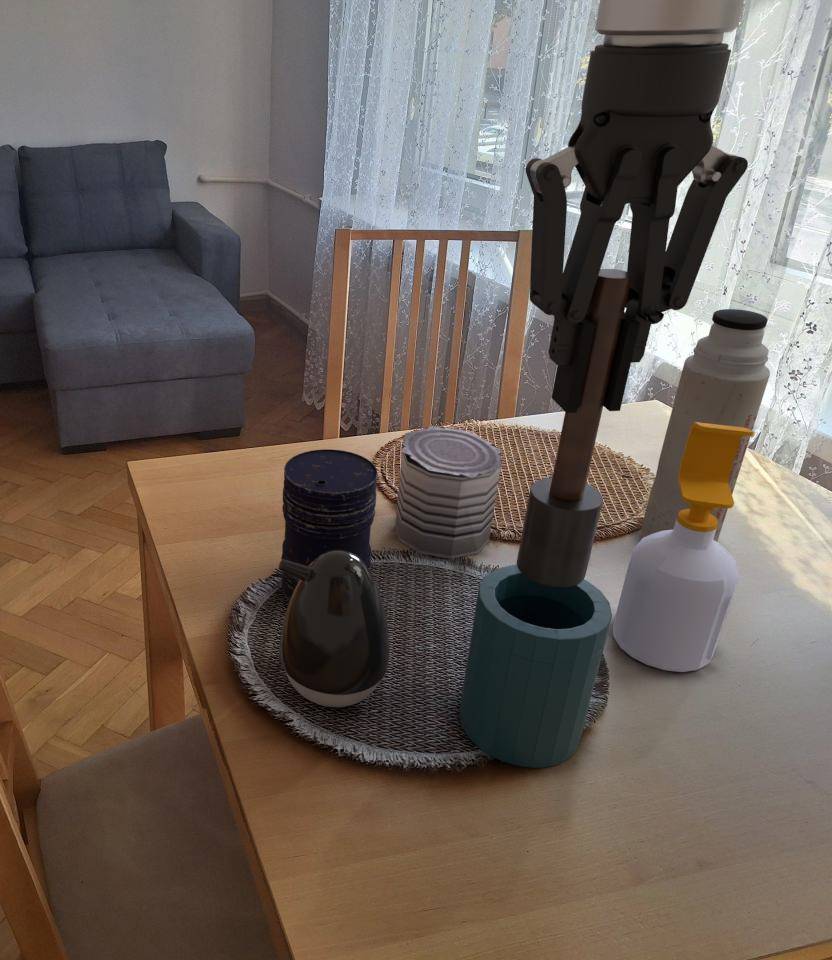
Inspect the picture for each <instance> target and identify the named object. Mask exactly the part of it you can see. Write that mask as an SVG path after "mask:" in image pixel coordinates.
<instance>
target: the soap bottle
mask: <svg viewBox="0 0 832 960" xmlns="http://www.w3.org/2000/svg"><path fill="white" fill-rule="evenodd" d="M742 436H751V437H750V438H752V437H754V436H755V431H753V430H752V431H751V430H750V429H748V428H744V427H735V426H726V425H717V424H708V423H700V422H694V423H693V424H692V426H691V429H690V432H689V436H688V439H687V443H686V447H685V450H684V454H683V458H682V461H681V465H680V469H679V475H678V483H679V488H680V493H681V498H682V500H683V501H685V502H687V503H688V504H689V505H691V507H690V509H684V510H681V511H680V512H679V514H678V517H677V518H676V522H675V526H674V529H673V530H665V531H660V532H657V533H653V534H651V535H649V536H646V537H644V538H643V539H642V540H641V539H640V540H639V542H638V543H637V544H636V546H635V547H634V548H633V550H632V551H631V553H630V557H629V561H628V565H627V569H626V573H625V577H624V580H623V586H622V589H621V593H620V597H619V601H618V604H617V607H616V612H615V616H614V620H613V624H612V636H613V639H614V640H615V641H616V643H617V645H618V646H619V648H620V649H621V650H623V651H624V652H625V653H626V654H627V655H629V656H630V657H631V658H632V659H635V660H636V661H639V662H640V663H643V664H644V665H646V666H649V667H653V668H656V669H658V670H662V671H668V672H678V673H685V672H686V673H687V672H692V671H693V672H694V671H698V670H700V669H702V668H703V667H705V666H707V665H709V664H710V662H711V661H712V659H713V657H714V655H715V652H716V649H717V646H718V643H719V640H720V637H721V634H722V631H723V628H724V625H725V622H726V619H727V616H728V613H729V610H730V607H731V604H732V601H733V599H734V595H735V593H736V589H737V586H738V584H739V580H740V573H739V568H738V564H737V559H736V558H735V557H734V556H733V555H732V554H731V553H730V552H729V551H728V550H727V549H726V548H725V546H723V545H722V544H721V543H719V542H718V541H717V542H716V541H715V540H713V539H714V535H715V532H716V529H717V524H718V520H717V518H716V517H715V516H713V515H712V514H710V512H711V510H716V509H718V508H725V509H732V508H733V507H734V505H735V500H734V497H733V494H731V490H730V487H729V477H730V473H731V469H732V466H733V463H734V459H735V456H736V453H737V450H738V446H739V443H740V440H741V438H742Z"/></svg>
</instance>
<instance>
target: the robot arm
mask: <svg viewBox="0 0 832 960" xmlns="http://www.w3.org/2000/svg"><path fill="white" fill-rule="evenodd" d="M744 2H745V0H599V5H598V8H597V9H598V10H597V15H596V16H597V17H596V19H595V20H596V21H595V27H594V30H595V31H596V32H597V34H599V35H603V43H602V44H596V45H595V46H594V50H591V51H590V53H589V58H588V59H589V60H588V64H587V65H588V66H587V71H586V75H585V76H586V77H585V82H584V88H583V93H582V98H581V99H582V100H581V111H580V113H581V114H580V120H579V123H578V125H577V126H576V128H575V130H574V131H573V133H572V134H571V136H570V138H569V140H568V144H567V147H565V148H562V149H561V150H560V151H557V152H556V153H554V154H551V155H550V156H548V157H545V158H544V159H542V158H539V157H535V158H532V159H530V160H528V162H527V164H526V166H525V174H526V177H527V181H528V183H529V186H530V188H531V192H532V196H533V202H532V203H533V205H532V232H531V253H530V256H531V257H530V279H529V301H530V303H532V305H534V306H535V307H536V308H538V309H539V310H540V311H541V312H542V313H544V314H545V315H547V316H553V324H552V329H551V336H550V340H549V347H548V351H547V352H548V355H549V356H548V357H549V359H550V360H551V361H552V362H553V363H554V364H555V365H557V367H556V372H555V377H554V382H553V387H552V392H551V398H550V399H552V400H553V401H554V402H555V403H556V404H557V405H558V406H559V407H560V408H561V410H563V412H564V413H565V412H566V413H577V410H578V405H579V400H580V395H581V390H582V385H583V380H584V376H585V371H586V366H587V361H588V356H589V351H590V347H591V342H592V337H593V332H594V327H595V324H594V323H592V322H591V321H589V320H588V319H586V318H585V315H586V312H587V309H588V306H589V303H590V300H591V297H592V294H593V290H594V287H595V284H596V281H597V278H598V275H599V272H600V269H602V265H603V262H604V259H605V256H606V253H607V250H608V246H609V244H610V241H611V237H612V234H613V232H614V229H615V225H616V223H617V222H618V221H620V220H621V218H622V216H623V213H624V210H625V207H626V205H628V204H629V209H630V211H631V214H632V216H631V226H630V237H629V245H628V256H627V257H628V258H627V268H626V272H629V273H631V274H632V279H631V283H630V288H629V292H628V297H627V301H626V306H625V311H624V315H623V319H622V324H621V328H620V333H619V337H618V342H617V346H616V351H615V355H614V360H613V364H612V369H611V373H610V378H609V382H608V387H607V391H606V396H605V400H604V405H603V408H605V409H606V410H608V412H620V411H621V408H622V403H623V400H624V396H625V391H626V387H627V383H628V377H629V374H630V370H631V366H632V363H633V364H634V363H640V362H641V361H642V359H643V357H644V356H645V352H646V347H647V342H648V341H649V340H648V339H649V335H650V332H651V327H652V325H656V324H659V323H660V322H661V321H662V320H663V319H664V317H665V313H664V312H667V311H670V310H673V311H680V310H682V309H683V308H684V307H685V306H686V305H687V304H688V301H689V298H690V296H691V293H692V290H693V287H694V285H695V283H696V282H695V281H697V277H698V274H699V272H700V269H701V266H702V264H703V261H704V258H705V256H706V253H707V250H708V248H709V245H710V243H711V240H712V237H713V235H714V232H715V229H716V227H717V224H718V222H719V219H720V217H721V213H722V212H723V208H724V205H725V203H726V200H727V198H728V196H729V194H731V192H732V190H733V189H734V188H735V186H736V185H737V184H738V183H739V180H741V179H742V177H743V175H744V174H745V173H746V171H747V170H748V168H749V167H748V166H749V163H748V160H747V158H746V157H743V156H739V155H736V154H732V153H728V152H726V151H724V150H722V149H721V148H719V147H717V146H716V145H714V144H713V143H714V133H713V130H712V125H711V124H712V122H711V120H712V115H713V113H714V111H715V109H716V108H717V106H718V105H719V102H720V98H721V94H722V90H723V86H724V84H725V83H724V82H725V78H726V74H727V70H728V66H729V62H730V58H731V54H732V49H729V46H730V45H729V43H726V42H725V43H724V42H723V40H724V35H725V34H726V33H727V34H728V33H732V32H734V31H735V30H736V29H737V28H738V27H739V24H740V20H741V15H742V12H743V11H742V10H743V7H744ZM574 168H575V169H576V171H577V173H578V175H579V177H580V180H582V183H583V185H584V190H583V192H582V197H581V200H580V202H579V203H580V204H579V210H580V215H579V219H578V221H577V226H576V229H575V232H574V235H573V239H572V243H571V246H570V249H569V252H568V256H567V259H566V262H565V265H564V261H565V246H566V230H567V215H568V214H567V213H568V198H567V192H566V189H567V188H568V187H569V186H571V184H572V172H573V170H574ZM691 172H692V179H693V180H692V181H691V183H690V185H689V187H688V188H687V192H686V193H685V196H684V199H683V202H682V205H681V207H680V210H679V213H678V215H677V219H676V222H675V225H674V227H673V230H672V233H671V235H670V238H669V241H668V236H669V228H670V220H671V218H673V216H674V215H675V211H676V204H677V196H678V188H679V186H680V185H681V183H682V182H684V180H685V179H686V178H687V177H688V176H689V175H690V174H691Z"/></svg>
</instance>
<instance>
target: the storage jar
mask: <svg viewBox="0 0 832 960" xmlns="http://www.w3.org/2000/svg"><path fill="white" fill-rule="evenodd" d="M377 481H378V469H377V467H376V465H375V464H374V463H373V462H372V461H371V460H370V459H368V458H367V457H365V456H363V455H360V454H358V453H354V452H351V451H346V450H340V449H331V448H330V449H329V448H328V449H325V448H324V449H314V450H308V451H303V452H301V453H298V454H297V455H296V454H295V455H294V456H292V457H291V458H289V460H288V461H286V463H285V464H284V468H283V488H282V507H281V508H282V509H281V510H282V517H283V519H284V539H283V542H282V549H281V553H282V554H281V557H280V558H281V559H280V561H281V560H282V559H285V560H288V561H292V562H295V563H299V564H302V565H306V566H309V565H310V564H311V563H312V562H313V561H314V560H315V559H316V558H317V557H318V556H319V555H320V554H322V553H324V552H326V551H329V550H335V549H341V550H346V551H349V552H352V553H354V554H355V555H357V556H358V557H359V558H361V559H362V561H363V562H364V563H365V564H366V566H367V567H368V569H369V570H370V571H372V569H371V568H372V561H371V557H372V546H371V543H370V542H371V530H372V529H371V528H372V524H373V523H374V520H375V516H376V506H377ZM281 577H282V578H281V590H282V593H283V595H284V597H285V598H286V599H287V600H288V601H289V602H290V599H291V597H292V594H293V592H294V590H295V588H296V586H297V584H298V582H299V580H300V579H298V578H295V577H293V576H291V575H289V574H287V573H285V572H283V571H281Z"/></svg>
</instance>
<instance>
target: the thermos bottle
mask: <svg viewBox="0 0 832 960" xmlns="http://www.w3.org/2000/svg"><path fill="white" fill-rule="evenodd" d="M711 321H712V322H713V323H712V324H711V326H710V329H709V332H708V335H706V336H703V337H701V338H699V339H698V340H697V342H696V345H695V347H694V348H693V349H692V351H693V354H692V355H690V356H688V357H687V358H685V359H684V362H683V365H682V369H681V373H680V377H679V381H678V386H677V389H676V393H675V396H674V397H675V398H674V400H673V401H674V402H673V404H672V408H671V411H670V412H671V413H670V416H669V420H668V423H667V427H666V431H665V435H664V439H663V441H662V442H663V443H662V446H661V450H660V455H659V457H658V464H657V468H656V473H655V476H654V480H653V483H652V487H651V489H650V493H649V497H648V500H647V504H646V508H645V511H644V515H643V519H642V523H641V527H640V531H639V538H640V541H641V540H642V539H643V538H644V537H646V536H649V535H651V534H653V533H657V532H660V531H665V530H673V529H674V526H675V522H676V518H677V517H678V514H679V512H680V511H681V510H684V509H690V507H691V505H689V504H688V503H687V502H685V501H683V500H682V498H681V493H680V488H679V483H678V475H679V469H680V465H681V461H682V458H683V454H684V450H685V447H686V443H687V439H688V436H689V432H690V429H691V426H692V424H693V423H694V422H700V423H708V424H717V425H726V426H735V427H744V428H748V429H750V430H751V431H753V430H754V427H755V425H756V422H757V421H756V420H757V417H758V414H759V410H760V408H761V405H762V401H763V399H764V396H765V392H766V389H767V385H768V382H769V379H770V376H771V370H770V369H769V368H768V367H767V366H766V363H767V362H768V361H769V357H768V356H769V349H768V346H766V345H764V343H763V339H764V336H765V327H766V326H767V324H768V321H769V319H768V318H767V316H765V315H763V314H761V313H758V312H755V311H751V310H747V309H746V310H745V309H737V308H723V309H718V310H715V311H714V312H713V314H712V317H711ZM751 438H752V437H751V436H742V438H741V440H740V443H739V446H738V450H737V453H736V456H735V459H734V463H733V466H732V469H731V473H730V477H729V487H730V490H731V494H732V495H733V494H734V490H735V487H736V484H737V481H738V478H739V474H740V471H741V468H742V465H743V462H744V459H745V456H746V452H747V449H748V447H749V442H750V440H751ZM728 509H729V508H728ZM728 509H725V508H718V509H716V510H711V512H710V514H712V515H713V516H715V517H716V518H717V520H718V524H717V529H716V532H715V535H714V539H713V540H715V541H716V542H718V541H719V538H720V536H721V535H720V534H721V531H722V529H723V525H724V523H725V519H726V516H727V513H728Z"/></svg>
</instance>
